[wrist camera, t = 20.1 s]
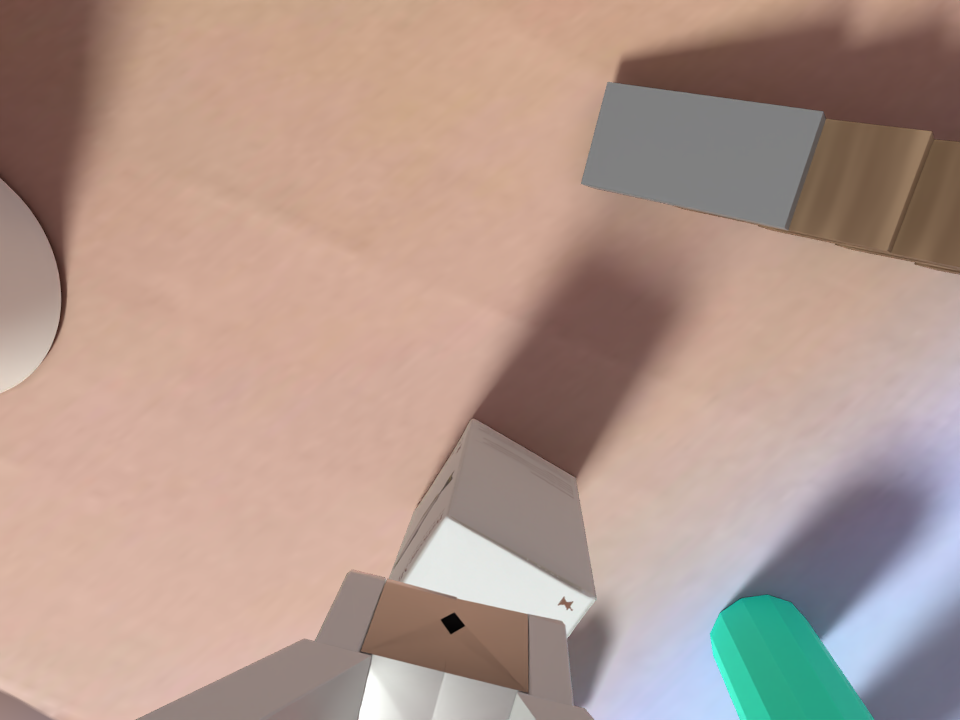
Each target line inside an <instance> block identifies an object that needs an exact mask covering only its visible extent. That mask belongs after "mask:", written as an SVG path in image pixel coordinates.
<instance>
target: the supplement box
mask: <svg viewBox="0 0 960 720" xmlns="http://www.w3.org/2000/svg"><path fill="white" fill-rule="evenodd" d="M389 579H392V580H395V581H399V582H403V583H406V584H410V585H414V586H418V587H421V588H425V589H429V590H432V591H436V592H440V593H443V594H447V595H451V596H455V597H457V599H462V600H466V601H471V602H475V603H480V604H484V605H489V606H494V607H498V608H503V609H507V610H512V611H516V612H521V613H525V614H531V615H536V616H541V617H546V618H551V619H555V620H560V621H563V623H564V624H565V625H566V634H567V638H568V637H569V635H570V634H571V633H572V631H573V630H574V629H575V627H576V626H577V624H578V623H579V622H580V620H581V619H582V618H583V616H584V615H585V613H586V612H587V611H588V609H589V608H590V607H591V606H592V605H593V603H594V602H595V600H596V592H595V586H594V580H593V575H592V569H591V564H590V557H589V552H588V546H587V540H586V534H585V528H584V523H583V517H582V512H581V506H580V500H579V494H578V488H577V483H576V478H575V477H573V476H572V475H570V474H568V473H567V472H565V471H563V470H562V469H560V468H558V467H557V466H555V465H553V464H552V463H550V462H548V461H546V460H545V459H543V458H541V457H540V456H538V455H536V454H535V453H533V452H531V451H529V450H528V449H526V448H524V447H523V446H521V445H519V444H517V443H516V442H514V441H512V440H510V439H509V438H507V437H505V436H504V435H502V434H500V433H499V432H497V431H495V430H493V429H491V428H490V427H488V426H487V425H485V424H483V423H481V422H479V421H478V420H476V419H471V420H470V422H469V424H468V426H467V427H466V429H465V431H464V433H463V435H462V437H461V438H460V440H459V442H458V443H457V445H456V447H455V449H454V450H453V452H452V453H451V455H450V457H449V458H448V460H447V461H446V463H445V465H444V466H443V468H442V469H441V471H440V473H439V474H438V476H437V477H436V479H435V481H434V482H433V484H432V485H431V487H430V489H429V490H428V492H427V493H426V495H425V496H424V498H423V499H422V500H421V502H420V503H419V505H418V506H417V508H416V509H415V511H414V512H413V515H412V518H411V521H410V523H409V526H408V528H407V531H406V534H405V536H404V539H403V541H402V544H401V547H400V550H399V552H398V555H397V558H396V560H395V563H394V566H393V569H392V571H391V574H390V577H389Z"/></svg>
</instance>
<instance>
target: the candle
mask: <svg viewBox="0 0 960 720" xmlns="http://www.w3.org/2000/svg"><path fill="white" fill-rule="evenodd" d="M710 637H711V643H712V650H713V656H714V658H715V661H716V663H717V666H718V668H719V670H720V673H721V675H722V678H723V680H724V682H725V685H726V687H727V690H728V692H729V694H730V697H731V699H732V701H733V704H734V706H735V709H736V711H737V713H738V716H739V718H740V720H874V718H873V717H872V715H871V714H870V712H869V711H868V709H867V708H866V706H865V705H864V703H863V702H862V701H861V699H860V698H859V696H858V695H857V693H856V692H855V690H854V689H853V687H852V686H851V684H850V683H849V681H848V680H847V678H846V677H845V675H844V674H843V672H842V671H841V670H840V668H839V667H838V665H837V664H836V662H835V661H834V659H833V658H832V656H831V655H830V653H829V652H828V650H827V649H826V647H825V646H824V644H823V643H822V641H821V640H820V639H819V637H818V636H817V634H816V633H815V631H814V630H813V628H812V627H811V625H810V624H809V622H808V621H807V620H806V618H805V617H804V616H803V615H802V614H801V613H800V612H799V610H798V609H797V608H796V607H795V606H794V605H793V604H792V603H791V602H788V601H785V600H782V599H779V598H776V597H773V596H770V595H760V596H753V597H746V598H741V599H739V600H738V601H736V602H735V603H733V604H732V605H731V606H729V607H728V608H726V609H725V610H723V611H722V612H720V614H719V616H718V618H717V620H716V622H715V624H714V627H713V629H712V631H711V633H710Z"/></svg>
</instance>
